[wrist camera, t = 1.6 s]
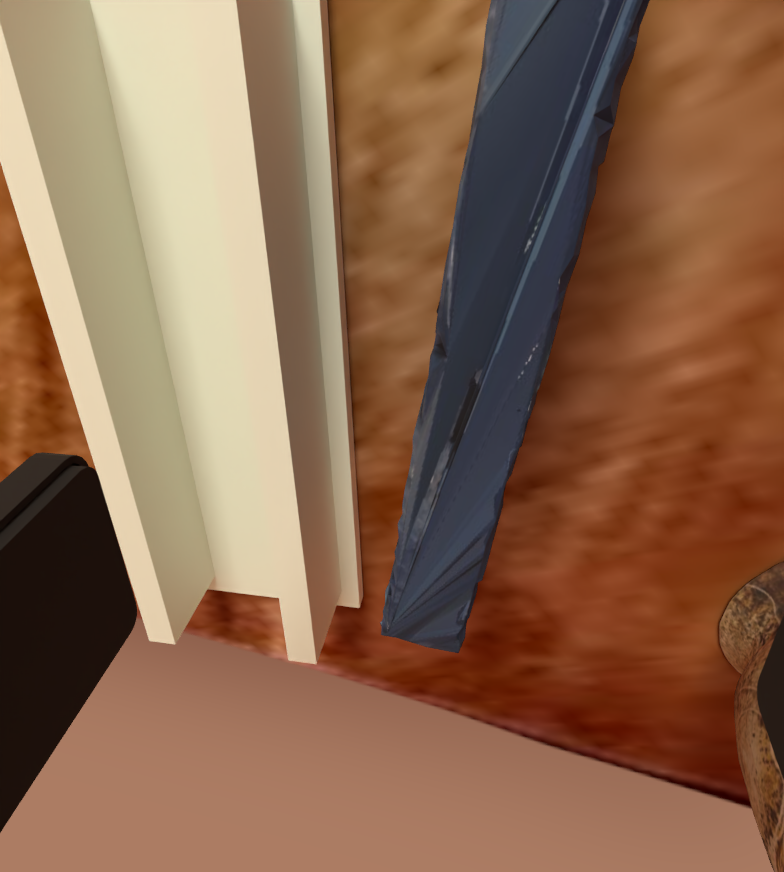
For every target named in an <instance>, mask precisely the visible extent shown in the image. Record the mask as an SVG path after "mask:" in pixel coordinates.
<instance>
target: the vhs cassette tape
mask: <svg viewBox="0 0 784 872" xmlns="http://www.w3.org/2000/svg"><path fill="white" fill-rule="evenodd" d="M648 3H649V0H491V4H490V9H489V14H488V19H487V24H486V32H485V41H484V50H483V59H482V68H481V74H480V79H479V84H478V89H477V95H476V101H475V106H474V112H473V119H472V126H471V133H470V140H469V145H468V149H467V153H466V157H465V162H464V168H463V172H462V176H461V181H460V185H459V191H458V198H457V204H456V211H455V217H454V223H453V230H452V235H451V240H450V245H449V250H448V254H447V260H446V265H445V270H444V277H443V284H442V290H441V297H440V302H439V306H438V309H437V313H438V316H437V323H436V332H435V333H436V338H435V343H434V349H433V351H432V354H431V356H430V366H429V376H428V380H427V383H426V386H425V390H424V395H423V400H422V403H421V407H420V411H419V415H418V419H417V423H416V427H415V431H414V435H413V452H412V458H411V464H410V469H409V474H408V478H407V482H406V487H405V493H404V499H403V505H402V509H403V514H402V516H401V518H400V520H399V522H398V533H399V539H398V542H397V546H396V550H395V561H394V565H393V569H392V573H391V578H390V580H389V581H390V582H389V585H388V587H387V588H386V592H385V606H384V610H383V620H382V622H381V623H380V624H381V626H382V631H381V635H384V636H390V637H396V638H399V639H403V640H406V641H409V642H412V643H416V644H419V645H422V646H425V647H429V648H434V649H440V650H445V651H450V652H455V653H459V650H460V648H461V646H462V643H463V641H464V638H465V631H466V623H467V619H468V618H469V616H470V613H471V609H472V606H473V603H474V599H475V596H476V593H477V586H478V582H479V581H481V580H482V578H483V575H484V572H485V569H486V566H487V562H488V558H489V554H490V550H491V546H492V542H493V539H494V535H495V532H496V528H497V525H498V521H499V518H500V514H501V510H502V507H503V496H504V490H505V486H506V483H507V481H508V479H509V477H510V476H511V474H512V471H513V467H514V464H515V461H516V458H517V454H518V451H519V448H520V447H521V446H522V443H523V439H524V435H525V431H526V427H527V423H528V419H529V418H530V415H531V412H532V410H533V407H534V404H535V400H536V395H537V390H538V389H539V387H540V384H541V380H542V377H543V374H544V371H545V368H546V364H547V361H548V358H549V355H550V351H551V347H552V344H553V340H554V336H555V332H556V329H557V325H558V321H559V317H560V313H561V308H562V304H563V300H564V296H565V292H566V288H567V285H568V283H569V280H570V277H571V275H572V272H573V269H574V267H575V264H576V261H577V259H578V256H579V253H580V248H581V243H582V239H583V234H584V229H585V225H586V220H587V217H588V214H589V211H590V208H591V205H592V202H593V199H594V196H595V193H596V183H597V174H598V166H599V165H600V164H602V163H603V162H604V159H605V155H606V151H607V147H608V142H609V138H610V134H611V130H612V128H613V126H614V122H615V117H616V112H617V106H618V101H619V96H620V90H621V86H622V84H623V81H624V79H625V76H626V74H627V71H628V69H629V66H630V64H631V61H632V59H633V56H634V51H635V47H636V43H637V36H638V32H639V27H640V24H641V22H642V19H643V16H644V14H645V11H646V8H647V6H648Z"/></svg>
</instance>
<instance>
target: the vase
mask: <svg viewBox="0 0 784 872" xmlns="http://www.w3.org/2000/svg"><path fill="white" fill-rule="evenodd" d="M783 615H784V562H782V563H779V564H777V565H775V566H774V567H772V568H770V569H769V570H767V571H766V572H764V573H762V574H761V575H759V576H757V577H756V578H754V579H753V580H751V581H750V582H749V583H748V584H746V585H745V586H744V587H743V588H742V589H741V590H740V591H739V592H738V593H737V594H736V595H735V596H734V597H733V598H732V600H731V601H730V602H729V604H728V606H727V608H726V611H725V613H724V615H723V617H722V619H721V621H720V623H719V637H720V645H721V648H722V650H723V653H724V655H725V657H726V658H727V660H728V661H729V663H730V664H731V665H732V666H733V667H734V668H735V669H736V670H737V671H738V672H739V673H740V674H741V676H740V678H739V681H738V684H737V687H736V691H735V702H734V718H735V728H736V741H737V750H738V759H739V763H740V766H741V770H742V774H743V777H744V781H745V784H746V788H747V792H748V795H749V799H750V803H751V807H752V810H753V814H754V817H755V819H756V823H757V825H758V828H759V831H760V834H761V837H762V840H763V843H764V846H765V849H766V851H767V854H768V857H769V860H770V863H771V865H772V868H773V870H774V872H784V780H783V777H782V774H781V771H780V768H779V765H778V763H777V760H776V757H775V754H774V751H773V748H772V745H771V742H770V739H769V736H768V733H767V731H766V728H765V725H764V722H763V719H762V716H761V713H760V710H759V706H758V700H757V684H758V680H759V676H760V674H761V671H762V669H763V666H764V664H765V661H766V658H767V656H768V653H769V651H770V648H771V646H772V643H773V641H774V638H775V636H776V633H777V631H778V628H779V625H780V623H781V620H782V618H783Z"/></svg>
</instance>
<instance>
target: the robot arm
mask: <svg viewBox="0 0 784 872" xmlns="http://www.w3.org/2000/svg"><path fill="white" fill-rule="evenodd" d="M136 617H137V606H136V602H135V598H134V595H133V591H132V588H131V585H130V581H129V578H128V574H127V571H126V568H125V564H124V561H123V557H122V554H121V551H120V547H119V544H118V541H117V537H116V534H115V530H114V527H113V524H112V520H111V517H110V513H109V510H108V507H107V503H106V500H105V496H104V493H103V490H102V486H101V483H100V479H99V476H98V474H97V472H96V471H95V470H94V469H93V468H91V467H89V466H88V464H87V462H86V461H85V460H84V459H83V458H82V457H79V456H77V455H65V454H53V453H36V454H34V455H33V456H31V457H29V458H28V459H27V460H26V461H25V462H24V463H23V464H21V465H20V466H19V467H18V468H17V469H16V470H14V471H13V472H12V473H11V474H10V475H9V476H8V477H6V478H5V479H4V480H3V481H2V482H1V483H0V832H1V831H2V829H3V827H4V826H5V824H6V823H7V821H8V820H9V818H10V817H11V815H12V814H13V812H14V811H15V809H16V808H17V806H18V805H19V803H20V801H21V800H22V798H23V797H24V795H25V794H26V792H27V791H28V789H29V788H30V786H31V785H32V783H33V781H34V780H35V778H36V777H37V775H38V774H39V772H40V771H41V769H42V768H43V766H44V765H45V763H46V762H47V760H48V759H49V757H50V755H51V754H52V752H53V751H54V749H55V748H56V746H57V745H58V743H59V742H60V740H61V739H62V737H63V735H64V734H65V733H66V731H67V729H68V728H69V727H70V725H71V723H72V722H73V720H74V719H75V717H76V716H77V714H78V713H79V711H80V710H81V708H82V707H83V705H84V704H85V702H86V700H87V699H88V697H89V696H90V694H91V693H92V691H93V690H94V688H95V687H96V685H97V683H98V682H99V680H100V679H101V677H102V676H103V674H104V673H105V671H106V670H107V668H108V667H109V665H110V663H111V662H112V661H113V659H114V658H115V656H116V654H117V653H118V651H119V650H120V648H121V647H122V645H123V644H124V642H125V640H126V639H127V638H128V636H129V635H130V633H131V631H132V629H133V627H134V625H135V621H136ZM757 700H758V706H759V710H760V713H761V716H762V719H763V722H764V725H765V728H766V731H767V733H768V736H769V739H770V742H771V745H772V748H773V751H774V754H775V757H776V760H777V763H778V765H779V768H780V771H781V774H782V777H783V780H784V615H783V618H782V620H781V623H780V625H779V628H778V631H777V633H776V636H775V638H774V641H773V643H772V646H771V648H770V651H769V653H768V656H767V658H766V661H765V664H764V666H763V669H762V671H761V674H760V676H759V680H758V684H757Z"/></svg>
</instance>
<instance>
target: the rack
mask: <svg viewBox="0 0 784 872" xmlns="http://www.w3.org/2000/svg"><path fill="white" fill-rule="evenodd" d="M0 162H1V165H2V168H3V172H4V175H5V178H6V181H7V185H8V188H9V191H10V194H11V197H12V201H13V204H14V207H15V210H16V214H17V217H18V220H19V223H20V226H21V230H22V233H23V236H24V239H25V242H26V246H27V249H28V252H29V255H30V259H31V262H32V265H33V268H34V271H35V275H36V278H37V281H38V284H39V287H40V291H41V294H42V297H43V300H44V304H45V307H46V310H47V313H48V316H49V320H50V323H51V326H52V329H53V333H54V336H55V339H56V342H57V345H58V349H59V352H60V355H61V358H62V361H63V365H64V368H65V371H66V374H67V378H68V381H69V384H70V387H71V390H72V394H73V397H74V400H75V403H76V406H77V410H78V413H79V416H80V419H81V423H82V426H83V429H84V432H85V435H86V439H87V442H88V445H89V448H90V452H91V455H92V458H93V461H94V464H95V468H96V471H97V474H98V476H99V479H100V483H101V486H102V490H103V493H104V496H105V500H106V503H107V506H108V509H109V513H110V516H111V519H112V522H113V525H114V529H115V532H116V535H117V538H118V542H119V545H120V548H121V551H122V554H123V558H124V561H125V564H126V567H127V571H128V574H129V577H130V580H131V583H132V587H133V590H134V593H135V596H136V599H137V603H138V606H139V609H140V612H141V616H142V619H143V622H144V625H145V628H146V632H147V635H148V638H149V641H154V642H162V643H168V644H176V643H177V641H178V639H179V638H180V636H181V634H182V632H183V631H184V629H185V627H186V625H187V624H188V622H189V620H190V618H191V617H192V615H193V613H194V611H195V610H196V608H197V606H198V604H199V603H200V601H201V599H202V597H203V596H204V594H205V592H206V590H207V589H210V590H218V591H226V592H234V593H242V594H250V595H258V596H266V597H274V598H279V602H280V609H281V615H282V622H283V628H284V635H285V641H286V648H287V654H288V660H290V661H297V662H304V663H311V664H317V662H318V659H319V656H320V653H321V650H322V647H323V644H324V641H325V638H326V635H327V632H328V629H329V626H330V623H331V620H332V617H333V614H334V612H335V609H336V606H337V605H338V606H346V607H355V608H360V605H361V602H362V598H363V583H362V566H361V550H360V533H359V517H358V500H357V484H356V468H355V451H354V435H353V418H352V402H351V385H350V369H349V352H348V336H347V319H346V303H345V286H344V270H343V254H342V237H341V221H340V204H339V188H338V171H337V155H336V138H335V122H334V105H333V89H332V73H331V56H330V40H329V23H328V7H327V0H0Z"/></svg>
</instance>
